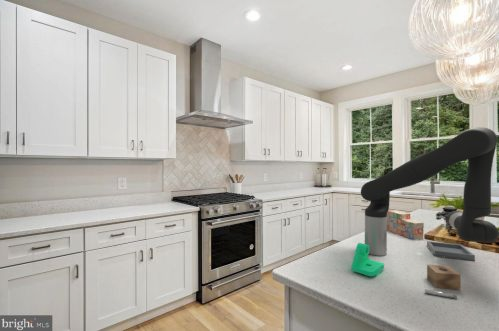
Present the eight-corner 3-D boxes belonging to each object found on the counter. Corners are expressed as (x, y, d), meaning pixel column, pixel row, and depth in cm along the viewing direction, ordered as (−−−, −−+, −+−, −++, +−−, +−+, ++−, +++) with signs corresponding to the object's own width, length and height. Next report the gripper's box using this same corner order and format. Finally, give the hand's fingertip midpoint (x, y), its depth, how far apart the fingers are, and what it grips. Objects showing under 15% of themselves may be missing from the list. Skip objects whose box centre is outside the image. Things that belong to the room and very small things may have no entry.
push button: (454, 230, 111) (454, 207, 111) (440, 228, 116) (440, 206, 116) (458, 228, 116) (458, 206, 116) (444, 225, 120) (444, 204, 120)
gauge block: (436, 287, 85) (436, 272, 85) (427, 277, 92) (427, 264, 91) (460, 289, 83) (460, 274, 83) (449, 280, 90) (449, 266, 90)
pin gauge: (425, 294, 80) (425, 290, 80) (424, 292, 82) (424, 288, 82) (456, 299, 77) (456, 295, 77) (455, 297, 78) (455, 293, 78)
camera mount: (371, 280, 91) (371, 251, 90) (351, 273, 96) (351, 246, 96) (385, 270, 99) (385, 244, 98) (365, 264, 104) (365, 239, 104)
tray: (434, 256, 112) (434, 250, 112) (427, 245, 126) (427, 241, 126) (474, 261, 107) (474, 255, 107) (462, 249, 120) (462, 244, 120)
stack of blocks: (423, 239, 136) (424, 217, 136) (413, 240, 135) (413, 217, 135) (394, 229, 158) (394, 209, 157) (385, 229, 156) (385, 210, 156)
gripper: (483, 213, 99) (467, 207, 115) (439, 211, 105) (430, 204, 121) (483, 232, 100) (467, 223, 115) (439, 228, 105) (430, 220, 121)
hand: (448, 213), depth 118 cm, fingers closed on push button, 3 cm apart
